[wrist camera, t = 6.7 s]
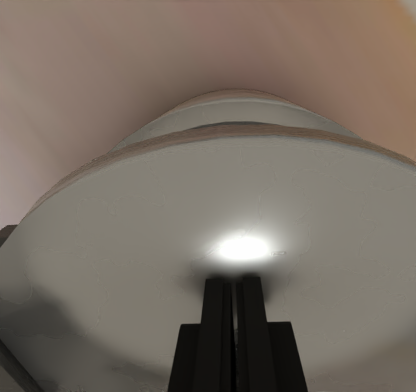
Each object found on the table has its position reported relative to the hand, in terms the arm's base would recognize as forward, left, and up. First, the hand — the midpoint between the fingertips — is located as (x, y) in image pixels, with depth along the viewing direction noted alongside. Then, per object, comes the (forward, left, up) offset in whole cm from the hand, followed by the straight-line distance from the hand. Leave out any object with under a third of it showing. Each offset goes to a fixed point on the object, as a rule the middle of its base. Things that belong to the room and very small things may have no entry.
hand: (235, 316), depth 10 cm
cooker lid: (-3, +2, -3) cm, 5 cm away
